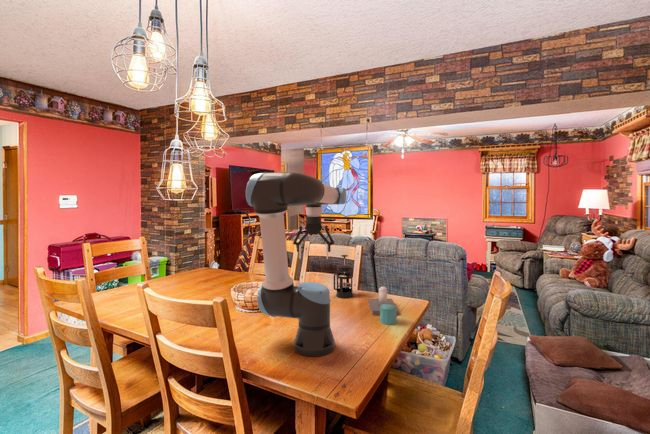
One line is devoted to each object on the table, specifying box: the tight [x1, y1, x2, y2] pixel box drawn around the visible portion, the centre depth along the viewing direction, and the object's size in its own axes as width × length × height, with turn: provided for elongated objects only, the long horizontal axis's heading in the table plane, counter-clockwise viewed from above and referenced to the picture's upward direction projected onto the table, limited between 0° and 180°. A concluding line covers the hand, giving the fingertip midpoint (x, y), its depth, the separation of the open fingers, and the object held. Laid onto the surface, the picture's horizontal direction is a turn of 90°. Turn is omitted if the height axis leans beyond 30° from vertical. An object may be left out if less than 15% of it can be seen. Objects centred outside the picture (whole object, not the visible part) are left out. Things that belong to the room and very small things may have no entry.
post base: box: [368, 286, 399, 316], centre depth 162 cm, size 18×12×11 cm, turn 178°
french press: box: [333, 254, 354, 299], centre depth 182 cm, size 12×9×23 cm
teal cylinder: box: [379, 304, 398, 326], centre depth 145 cm, size 7×7×7 cm
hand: (313, 258), depth 163 cm, fingers open, 13 cm apart
